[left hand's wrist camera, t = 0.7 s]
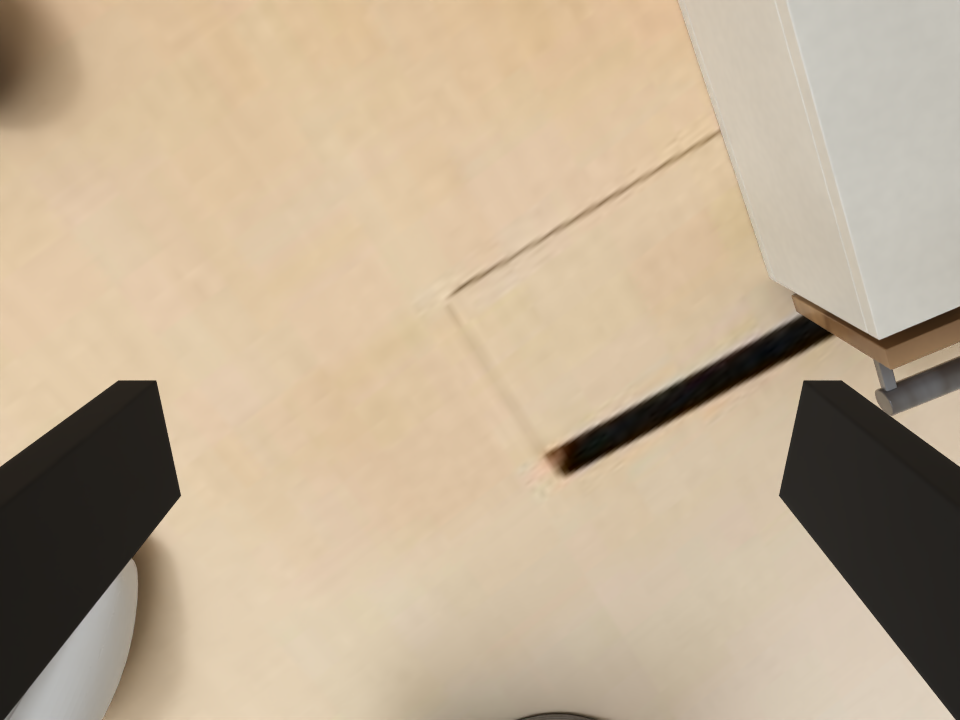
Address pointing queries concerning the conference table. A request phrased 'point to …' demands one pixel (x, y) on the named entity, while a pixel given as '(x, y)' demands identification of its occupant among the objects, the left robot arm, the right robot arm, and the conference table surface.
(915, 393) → the drawer
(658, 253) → the conference table surface
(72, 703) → the projector
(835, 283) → the cabinet
